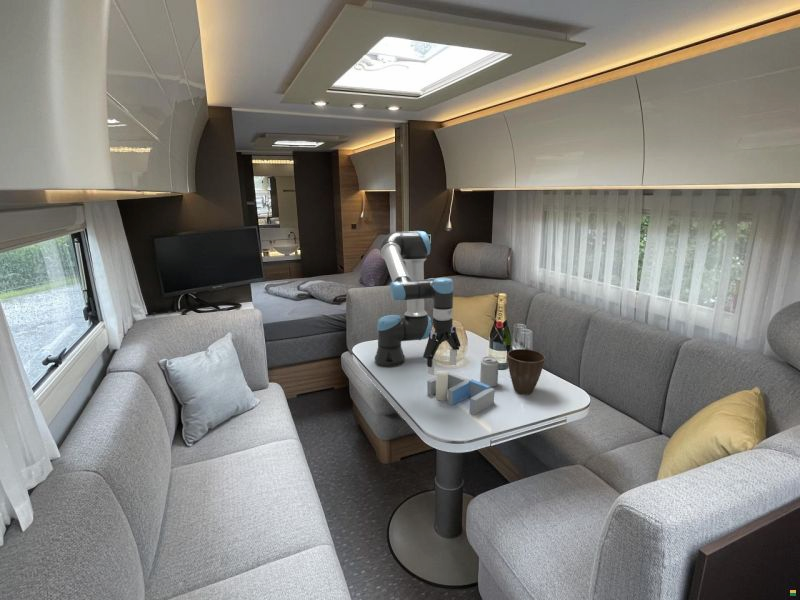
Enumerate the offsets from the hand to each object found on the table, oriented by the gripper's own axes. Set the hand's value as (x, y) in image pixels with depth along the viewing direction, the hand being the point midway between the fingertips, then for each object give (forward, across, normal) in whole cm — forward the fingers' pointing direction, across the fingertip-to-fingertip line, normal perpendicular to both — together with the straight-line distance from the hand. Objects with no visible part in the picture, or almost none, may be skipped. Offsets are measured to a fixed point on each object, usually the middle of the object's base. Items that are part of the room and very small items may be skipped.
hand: (442, 369), depth 159 cm
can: (+13, +25, -6) cm, 29 cm away
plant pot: (+13, +30, -20) cm, 38 cm away
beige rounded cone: (+13, 0, 0) cm, 13 cm away
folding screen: (+13, +5, -5) cm, 15 cm away
